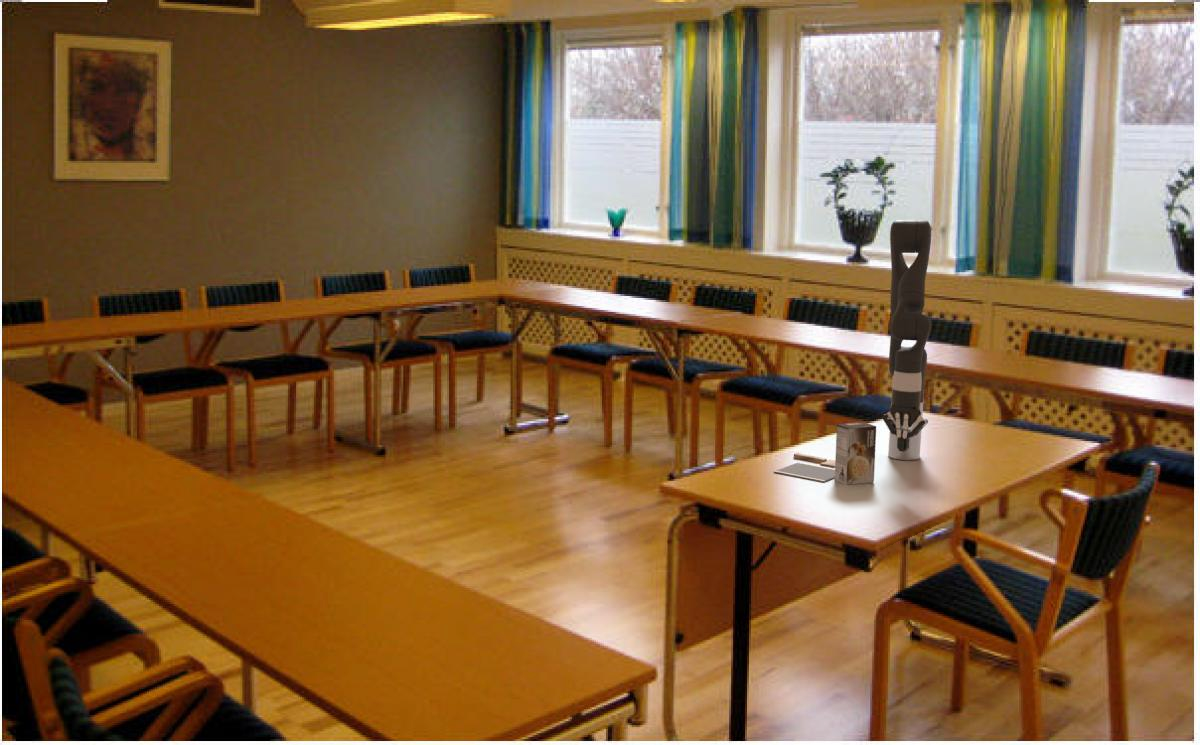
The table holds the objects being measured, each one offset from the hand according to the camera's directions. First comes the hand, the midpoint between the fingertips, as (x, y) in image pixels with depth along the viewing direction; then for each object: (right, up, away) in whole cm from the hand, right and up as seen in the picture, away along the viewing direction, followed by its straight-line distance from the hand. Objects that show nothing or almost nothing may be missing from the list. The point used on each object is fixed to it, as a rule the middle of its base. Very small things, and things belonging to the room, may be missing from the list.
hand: (902, 450), depth 365 cm
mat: (-22, -7, +19) cm, 30 cm away
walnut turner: (-17, -5, +31) cm, 35 cm away
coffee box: (-11, -9, +10) cm, 18 cm away
